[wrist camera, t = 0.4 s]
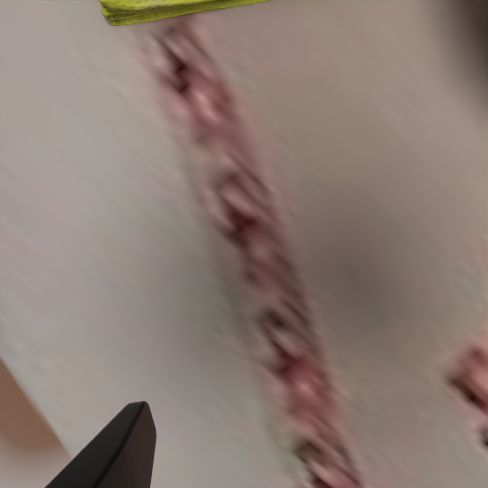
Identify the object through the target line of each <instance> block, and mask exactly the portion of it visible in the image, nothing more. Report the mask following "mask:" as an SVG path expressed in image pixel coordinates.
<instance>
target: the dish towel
mask: <svg viewBox="0 0 488 488" xmlns="http://www.w3.org/2000/svg"><path fill="white" fill-rule="evenodd" d="M262 1H267V0H99V2H100V4H101V13H102V14H103V16H104V17H105V18H106V20H107V21H108V22H109V23H110V24H112V25H127V24H133V23H139V22H144V21H153V20H157V19H161V18H167V17H174V16H179V15H183V14H188V13H194V12H201V11H204V10H211V9H219V8H228V7H234V6H240V5H243V4H250V3H257V2H262Z"/></svg>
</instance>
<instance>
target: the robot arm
mask: <svg viewBox="0 0 488 488" xmlns="http://www.w3.org/2000/svg"><path fill="white" fill-rule="evenodd" d="M155 445H156V428H155V424H154V421H153V418H152V414H151V411H150V407H149V405H148V403H147V402H145V401H141V402H134V403H129V404H128V405H126V406H125V407H124V408H123V409H122V410H121V411H120V412H119V413H118V414H117V415H116V416H115V417H114V418H113V419H112V420H111V421H110V422H109V423H108V424H107V425H106V426H105V427H104V428H103V429H102V430H101V432H100V433H99V434H98V435H97V436H96V437H95V438H94V439H93V440H92V441H91V442H90V443H89V444H88V445H87V446H86V447H85V448H84V449H83V450H82V451H81V452H80V453H79V454H78V455H77V456H76V457H75V458H74V459H73V460H72V461H71V462H70V463H69V464H68V465H67V466H66V467H65V468H64V469H63V470H62V471H61V472H60V473H59V474H58V475H57V476H56V477H55V478H54V479H53V480H52V481H51V482H50V483H49V484H48V485H47V486H46V487H45V488H150V484H151V477H152V469H153V461H154V453H155Z"/></svg>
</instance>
